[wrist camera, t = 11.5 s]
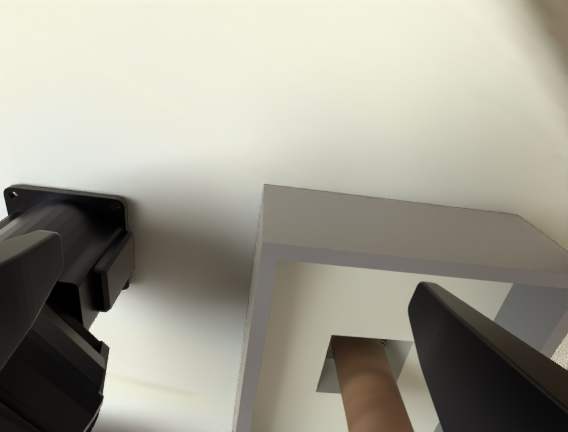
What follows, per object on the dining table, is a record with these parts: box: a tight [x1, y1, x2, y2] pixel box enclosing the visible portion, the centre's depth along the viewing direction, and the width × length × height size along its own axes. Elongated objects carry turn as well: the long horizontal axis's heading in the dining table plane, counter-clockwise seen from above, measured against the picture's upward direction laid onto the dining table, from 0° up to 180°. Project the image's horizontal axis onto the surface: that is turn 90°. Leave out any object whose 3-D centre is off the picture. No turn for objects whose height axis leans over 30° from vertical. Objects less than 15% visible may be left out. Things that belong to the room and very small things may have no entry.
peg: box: [330, 335, 414, 432], centre depth 22 cm, size 4×4×10 cm
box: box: [232, 184, 568, 432], centre depth 24 cm, size 16×22×6 cm
